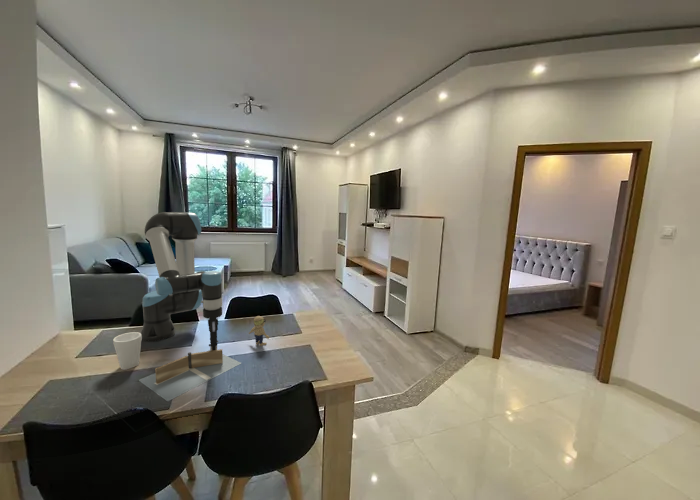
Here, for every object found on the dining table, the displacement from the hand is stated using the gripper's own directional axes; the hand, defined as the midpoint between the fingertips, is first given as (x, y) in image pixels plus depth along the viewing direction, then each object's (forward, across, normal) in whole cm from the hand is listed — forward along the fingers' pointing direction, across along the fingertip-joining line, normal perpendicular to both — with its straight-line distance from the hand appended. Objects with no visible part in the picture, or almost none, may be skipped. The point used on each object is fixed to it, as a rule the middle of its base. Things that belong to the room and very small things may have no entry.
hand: (214, 358), depth 128 cm
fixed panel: (+2, +6, -15) cm, 16 cm away
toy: (+2, -9, +21) cm, 23 cm away
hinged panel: (+1, +3, -3) cm, 4 cm away
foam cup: (+2, -11, -32) cm, 34 cm away
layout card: (+2, +5, -8) cm, 10 cm away
